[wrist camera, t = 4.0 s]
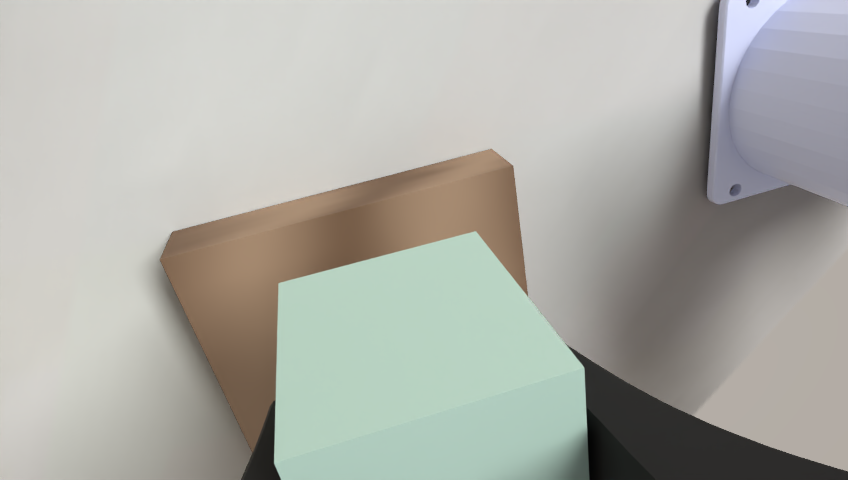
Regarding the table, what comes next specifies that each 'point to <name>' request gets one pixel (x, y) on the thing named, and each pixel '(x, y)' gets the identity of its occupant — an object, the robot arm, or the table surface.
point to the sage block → (424, 373)
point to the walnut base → (324, 258)
